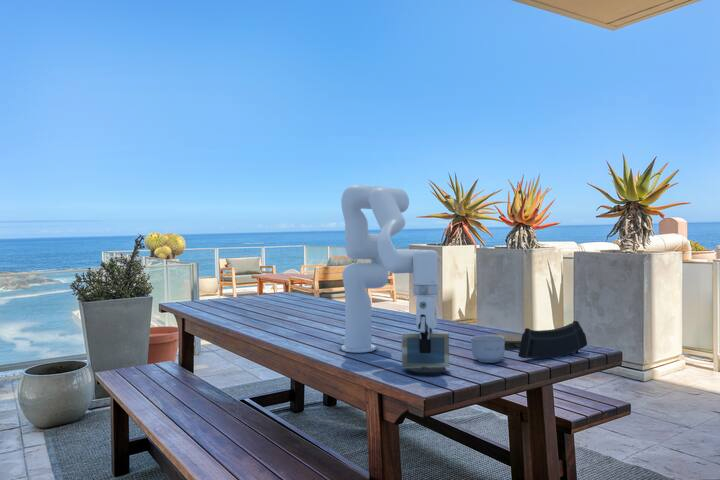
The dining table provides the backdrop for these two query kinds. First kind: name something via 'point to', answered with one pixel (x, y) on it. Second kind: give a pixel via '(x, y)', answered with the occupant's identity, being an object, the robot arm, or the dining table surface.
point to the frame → (417, 359)
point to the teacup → (488, 348)
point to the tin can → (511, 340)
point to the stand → (426, 371)
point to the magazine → (552, 342)
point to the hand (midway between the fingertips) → (426, 351)
